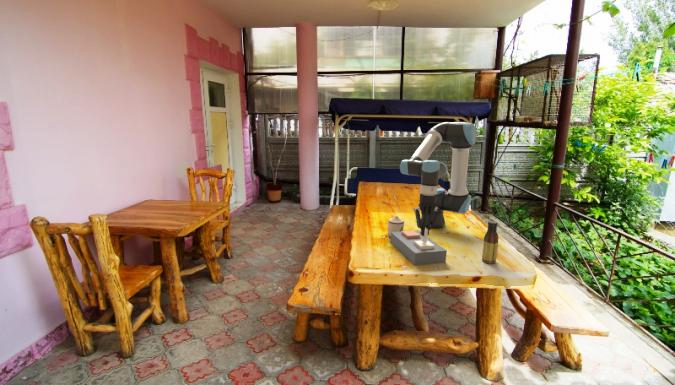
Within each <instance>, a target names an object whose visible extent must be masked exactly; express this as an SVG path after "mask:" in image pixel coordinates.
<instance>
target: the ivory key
mask: <svg viewBox="0 0 675 385" xmlns="http://www.w3.org/2000/svg"><path fill="white" fill-rule="evenodd" d="M414 245H415V246H416V247H418V248H419V249H420V250H423V249H434V245H433V244H432V243H430V242H429V241H428V240H427V243H423V242H422V241H421V240H420V241H414Z"/></svg>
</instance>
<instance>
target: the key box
mask: <svg viewBox="0 0 675 385" xmlns="http://www.w3.org/2000/svg"><path fill="white" fill-rule="evenodd" d="M414 231H415V232H417V233H418V234H420V233H421V230H417V229H416V230H414ZM421 238H422V236H421V234H420V238H412V239H407V238H405V237H404V236H403V235H402V231H400V232H391V237H390V244H391V245H392V246H393V247H394V248H396V250H397V251H399V252H400V253H401V254H402V255H403V256H404V257H405V258H406V259H407V260H408V261H409V262H410V263H411V264H412V265H413V266H422V265H431V264H432V265H433V264H444V263H446V261H447V249H445V248H444V247H442V246H441V245H440V244H438V243H437V242H436V241H434V240H432V239H431V238H430V237H428V236H427V240H428V241H429V242H430V243H432V244H433V245H434V249H423V250H420V249H419V248H418V247H416V246H415V245H414V241H420V240H421Z"/></svg>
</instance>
